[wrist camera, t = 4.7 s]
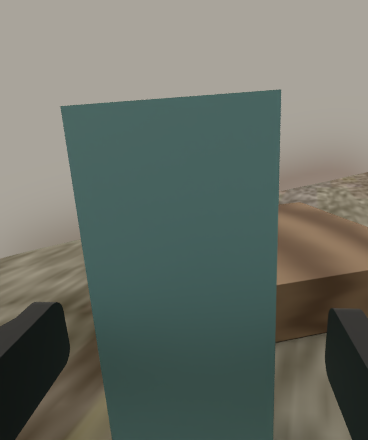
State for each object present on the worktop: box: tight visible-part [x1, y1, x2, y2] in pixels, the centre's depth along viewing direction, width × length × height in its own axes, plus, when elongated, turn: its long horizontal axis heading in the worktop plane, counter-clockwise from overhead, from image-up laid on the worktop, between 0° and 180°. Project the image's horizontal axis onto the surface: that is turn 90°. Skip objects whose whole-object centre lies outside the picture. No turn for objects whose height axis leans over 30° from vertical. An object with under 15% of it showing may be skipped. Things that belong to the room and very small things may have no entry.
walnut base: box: [275, 202, 368, 342], centre depth 29 cm, size 18×18×4 cm
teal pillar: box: [61, 90, 281, 440], centre depth 11 cm, size 5×5×14 cm
